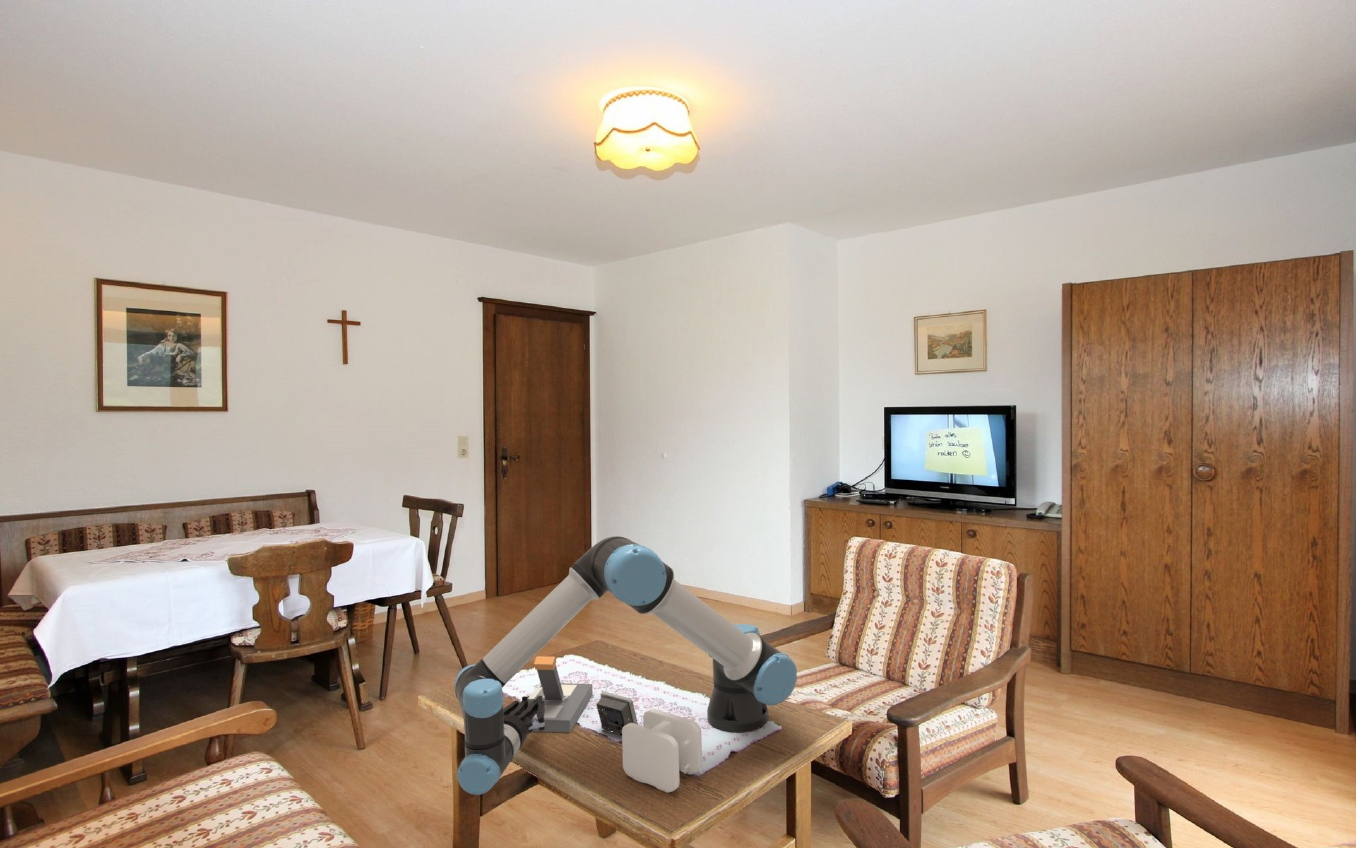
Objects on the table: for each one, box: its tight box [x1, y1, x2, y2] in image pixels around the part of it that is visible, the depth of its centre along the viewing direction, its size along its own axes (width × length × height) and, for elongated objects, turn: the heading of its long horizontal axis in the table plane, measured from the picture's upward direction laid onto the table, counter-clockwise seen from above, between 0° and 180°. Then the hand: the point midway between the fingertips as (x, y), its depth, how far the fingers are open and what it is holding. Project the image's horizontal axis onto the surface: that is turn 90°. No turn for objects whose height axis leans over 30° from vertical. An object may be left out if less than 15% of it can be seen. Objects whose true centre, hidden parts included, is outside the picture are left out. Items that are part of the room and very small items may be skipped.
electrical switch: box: [595, 691, 639, 735], centre depth 170 cm, size 9×5×9 cm, turn 57°
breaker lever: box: [533, 655, 564, 700], centre depth 178 cm, size 2×5×14 cm
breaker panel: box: [531, 682, 594, 734], centre depth 182 cm, size 22×14×4 cm, turn 173°
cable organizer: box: [621, 708, 703, 794], centre depth 149 cm, size 15×11×12 cm
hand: (539, 693), depth 170 cm, fingers closed
